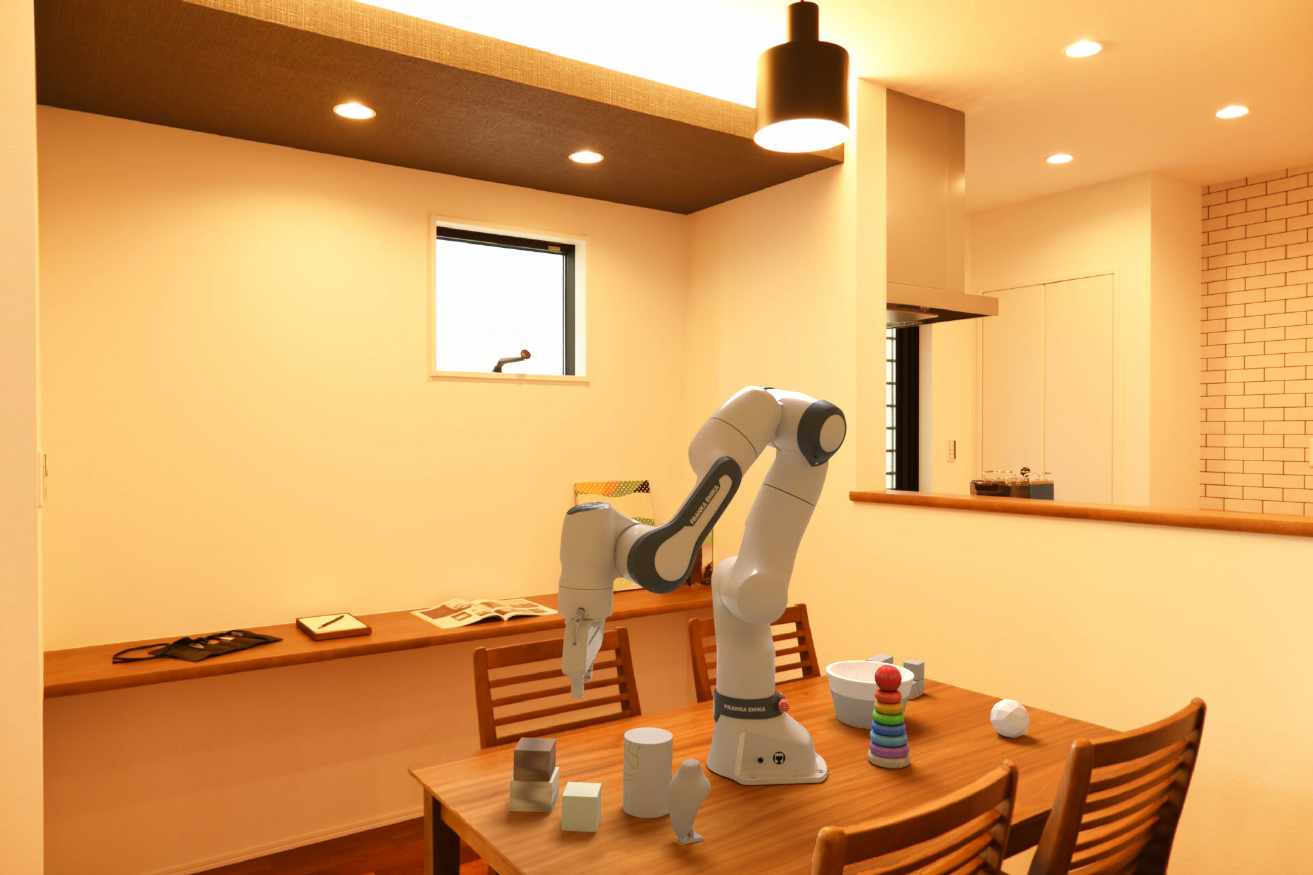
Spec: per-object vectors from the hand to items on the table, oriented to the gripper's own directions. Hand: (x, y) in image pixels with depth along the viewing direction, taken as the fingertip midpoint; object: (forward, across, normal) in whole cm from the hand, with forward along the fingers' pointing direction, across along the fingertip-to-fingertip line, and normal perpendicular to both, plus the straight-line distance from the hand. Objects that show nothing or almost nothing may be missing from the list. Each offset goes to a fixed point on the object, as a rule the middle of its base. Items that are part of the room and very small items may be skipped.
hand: (581, 689), depth 138 cm
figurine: (+21, -5, -18) cm, 28 cm away
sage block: (+21, -1, -1) cm, 21 cm away
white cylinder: (+21, +6, -11) cm, 24 cm away
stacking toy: (+20, +31, -56) cm, 67 cm away
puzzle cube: (+20, +78, -66) cm, 104 cm away
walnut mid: (+16, +6, +8) cm, 19 cm away
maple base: (+21, +6, +8) cm, 24 cm away
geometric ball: (+19, +50, -85) cm, 100 cm away
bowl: (+20, +57, -57) cm, 83 cm away
